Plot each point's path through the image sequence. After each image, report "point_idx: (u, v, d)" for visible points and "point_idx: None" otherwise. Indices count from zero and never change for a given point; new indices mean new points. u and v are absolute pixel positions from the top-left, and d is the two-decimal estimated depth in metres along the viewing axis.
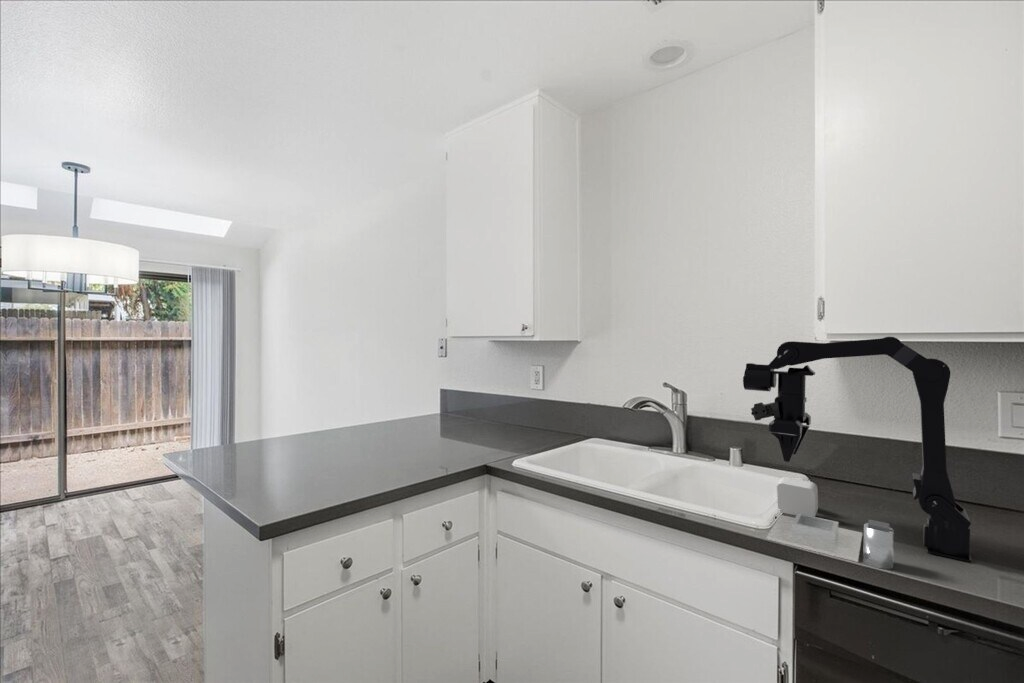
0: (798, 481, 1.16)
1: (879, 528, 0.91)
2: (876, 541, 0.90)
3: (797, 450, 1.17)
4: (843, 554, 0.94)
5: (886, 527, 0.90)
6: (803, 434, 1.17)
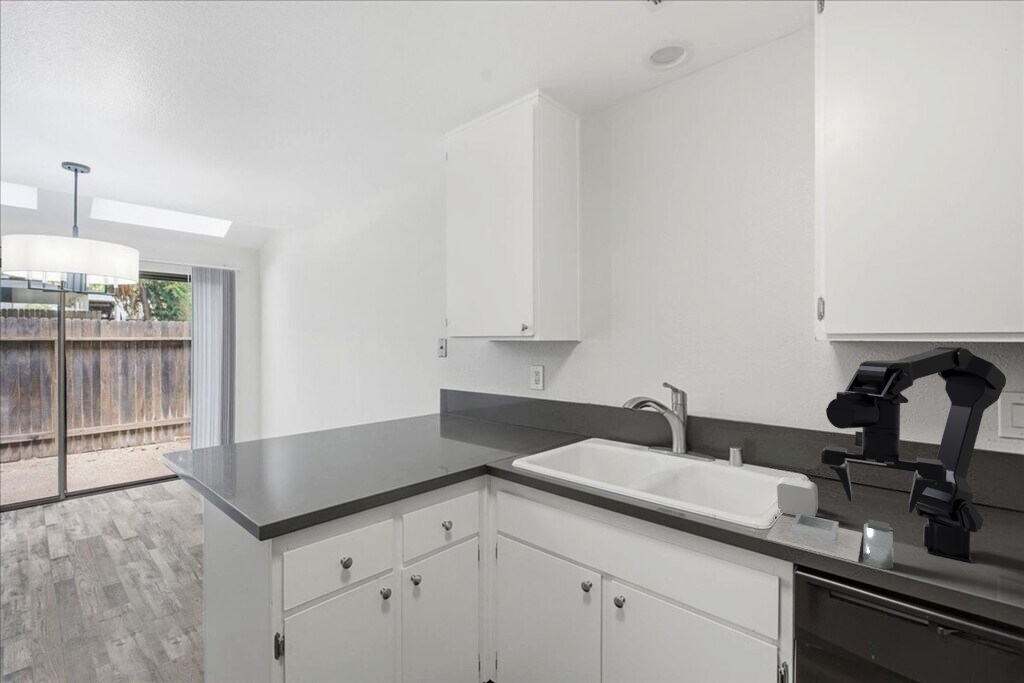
0: (798, 481, 1.16)
1: (879, 528, 0.91)
2: (876, 541, 0.90)
3: (910, 507, 0.88)
4: (843, 554, 0.94)
5: (886, 527, 0.90)
6: (913, 487, 0.87)
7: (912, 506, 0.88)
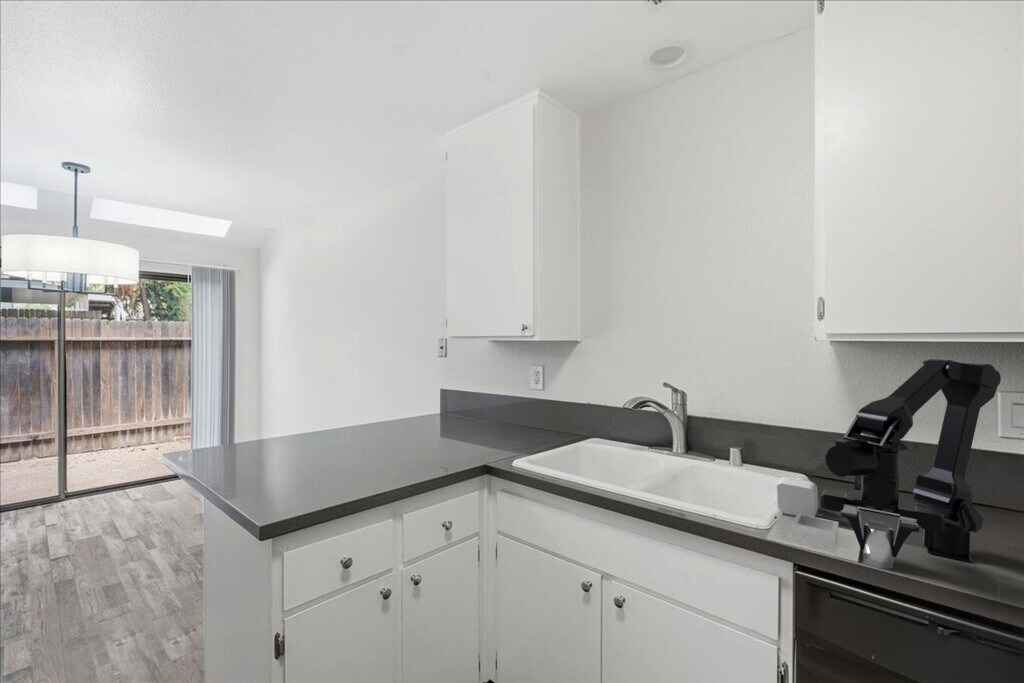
0: (798, 481, 1.16)
1: (879, 528, 0.91)
2: (876, 541, 0.90)
3: (894, 553, 0.90)
4: (843, 554, 0.94)
5: (886, 527, 0.90)
6: (897, 533, 0.89)
7: (896, 551, 0.89)
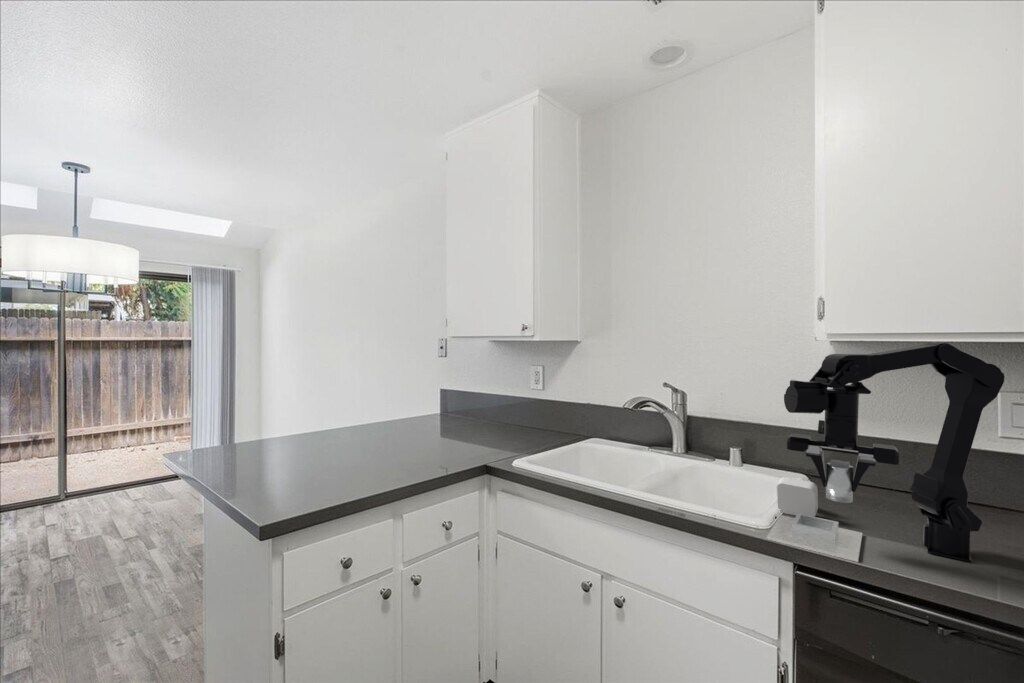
0: (798, 481, 1.16)
1: (840, 465, 0.97)
2: (837, 477, 0.97)
3: (853, 487, 0.96)
4: (843, 554, 0.94)
5: (846, 464, 0.97)
6: (855, 469, 0.95)
7: (855, 486, 0.96)
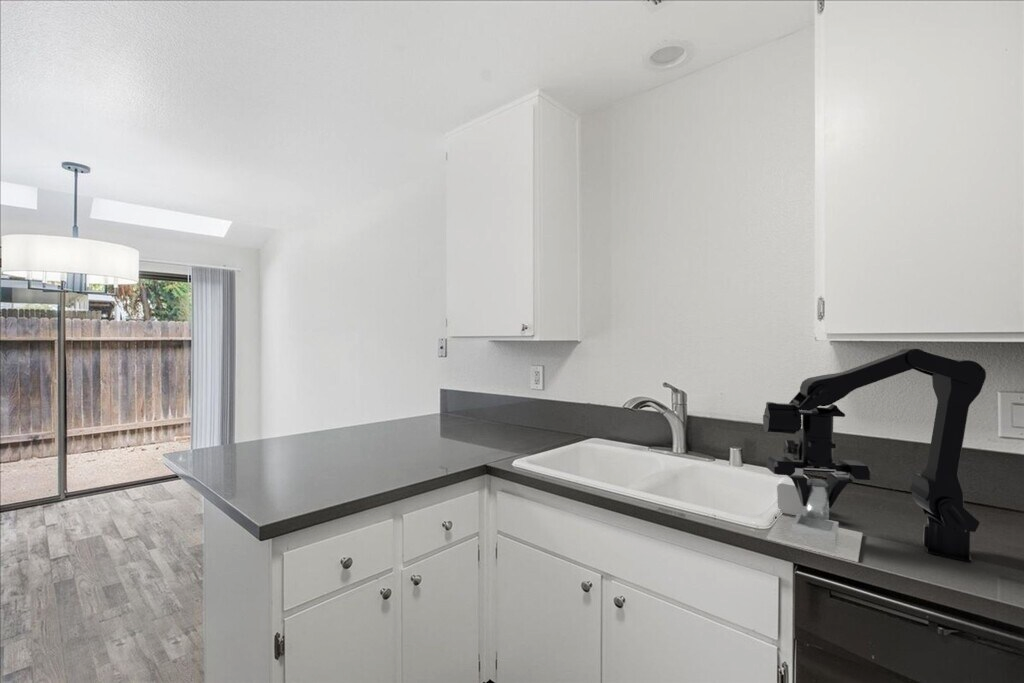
0: None
1: (820, 484, 1.02)
2: (819, 496, 1.01)
3: (830, 504, 1.02)
4: (843, 554, 0.94)
5: (824, 482, 1.02)
6: (835, 487, 1.01)
7: (832, 502, 1.02)
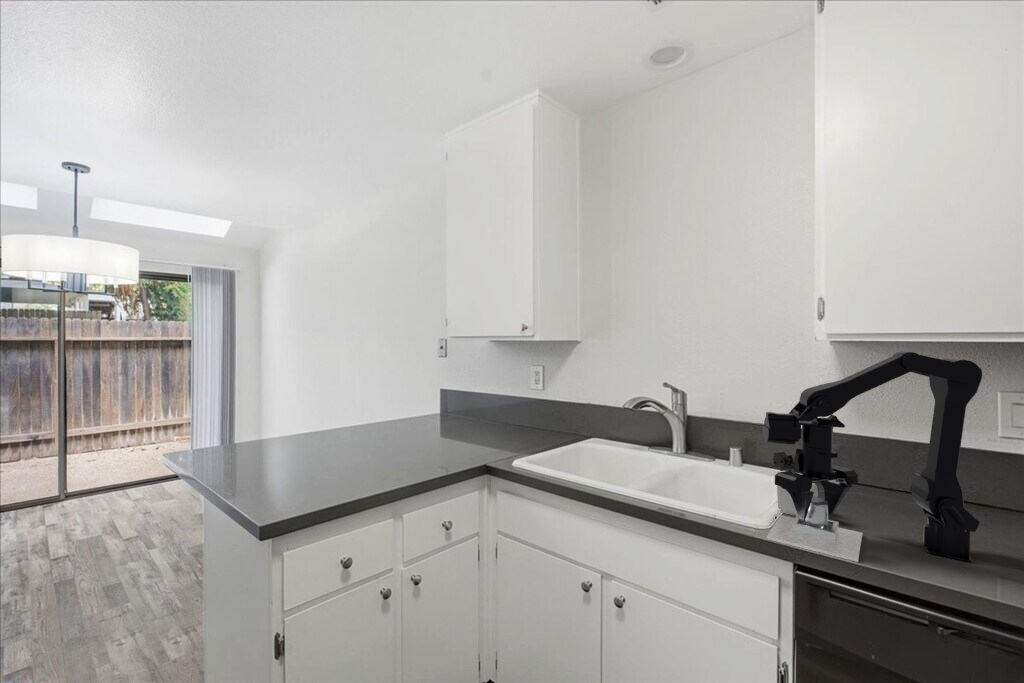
0: None
1: (822, 503, 1.02)
2: (824, 515, 1.01)
3: (833, 511, 1.04)
4: (843, 554, 0.94)
5: (823, 500, 1.03)
6: (839, 494, 1.03)
7: (834, 509, 1.04)
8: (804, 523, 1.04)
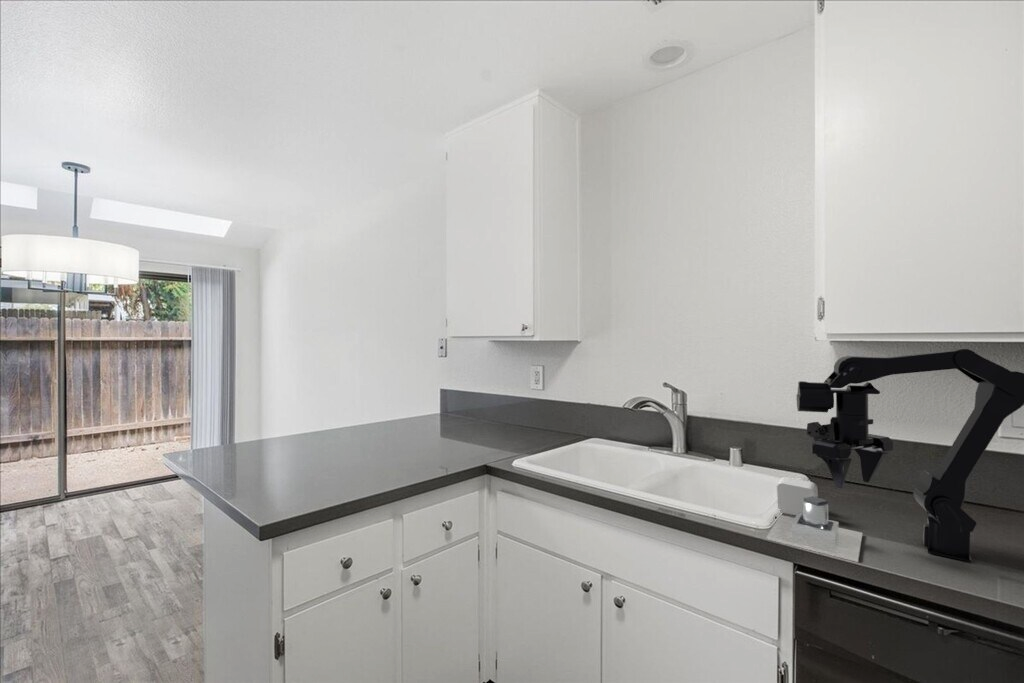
0: (798, 481, 1.16)
1: (823, 503, 1.02)
2: (824, 515, 1.01)
3: (870, 478, 1.04)
4: (843, 554, 0.94)
5: (824, 500, 1.03)
6: (877, 461, 1.03)
7: (871, 477, 1.04)
8: (804, 523, 1.04)
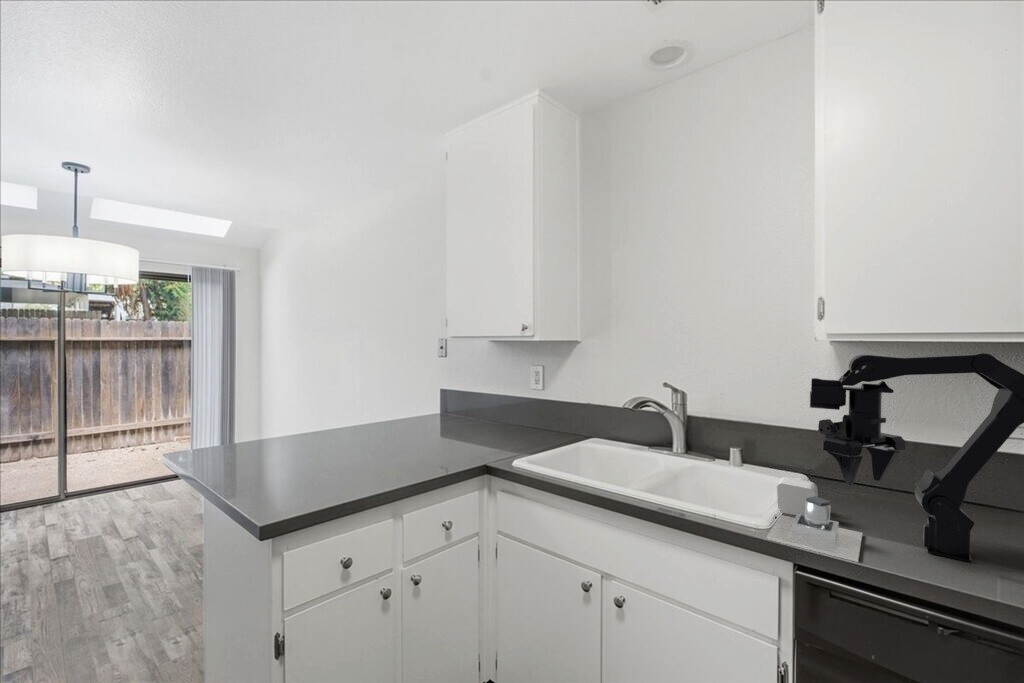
0: (798, 481, 1.16)
1: (826, 503, 1.02)
2: (827, 516, 1.01)
3: (881, 477, 1.05)
4: (843, 554, 0.94)
5: (826, 501, 1.02)
6: (888, 459, 1.04)
7: (882, 475, 1.05)
8: (805, 523, 1.03)
